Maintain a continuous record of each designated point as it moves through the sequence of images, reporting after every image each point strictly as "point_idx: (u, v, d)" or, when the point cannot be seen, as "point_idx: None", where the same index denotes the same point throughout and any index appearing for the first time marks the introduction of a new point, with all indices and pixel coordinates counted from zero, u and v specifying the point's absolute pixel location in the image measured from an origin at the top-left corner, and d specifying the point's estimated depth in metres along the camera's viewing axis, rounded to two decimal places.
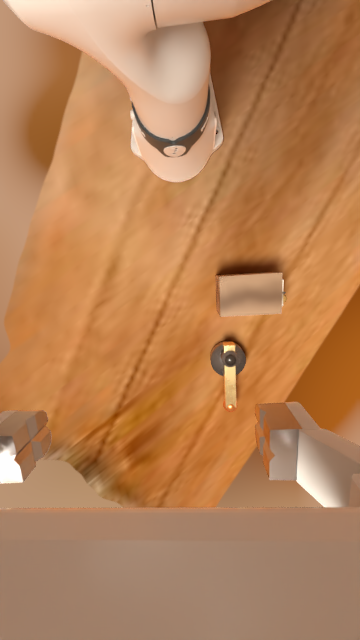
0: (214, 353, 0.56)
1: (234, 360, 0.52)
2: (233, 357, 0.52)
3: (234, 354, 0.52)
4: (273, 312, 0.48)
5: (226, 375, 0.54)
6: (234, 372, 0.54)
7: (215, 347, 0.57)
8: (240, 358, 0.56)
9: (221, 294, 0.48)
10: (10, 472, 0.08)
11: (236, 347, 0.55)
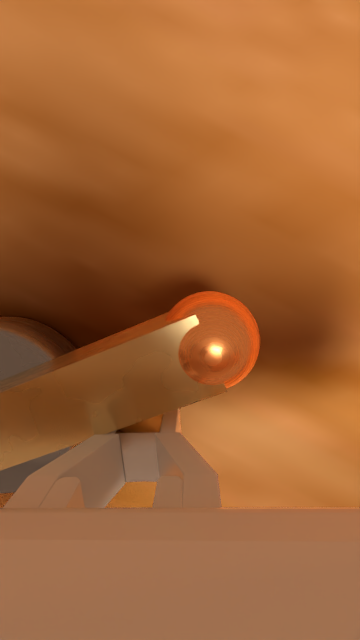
0: None
1: None
2: None
3: None
4: None
5: None
6: None
7: None
8: None
9: None
10: (138, 470, 0.08)
11: None
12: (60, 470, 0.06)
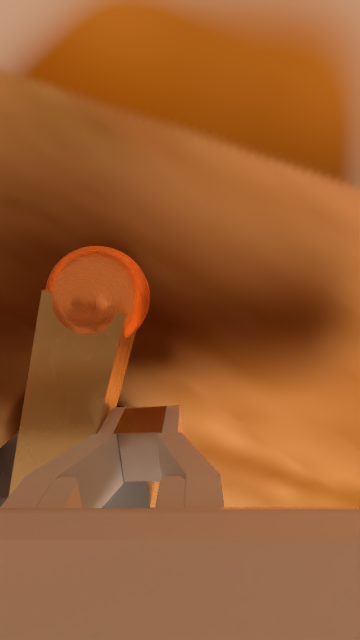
0: None
1: None
2: None
3: None
4: None
5: None
6: None
7: None
8: (7, 494, 0.12)
9: None
10: (136, 470, 0.08)
11: None
12: (57, 470, 0.06)
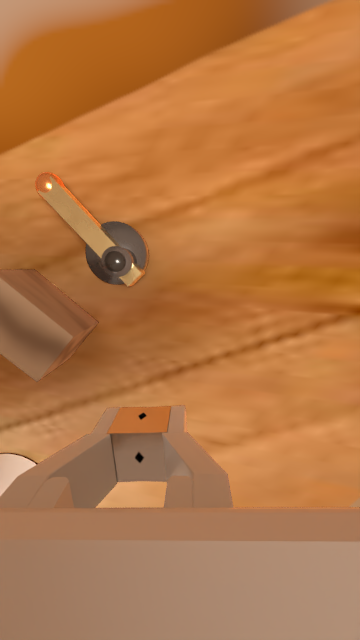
0: (142, 247, 0.32)
1: (109, 266, 0.28)
2: (115, 269, 0.29)
3: (117, 274, 0.29)
4: (0, 281, 0.28)
5: (99, 232, 0.29)
6: (92, 246, 0.29)
7: (147, 256, 0.33)
8: (103, 270, 0.32)
9: (50, 361, 0.30)
10: (129, 471, 0.08)
11: (122, 281, 0.33)
12: (50, 470, 0.06)
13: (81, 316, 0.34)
